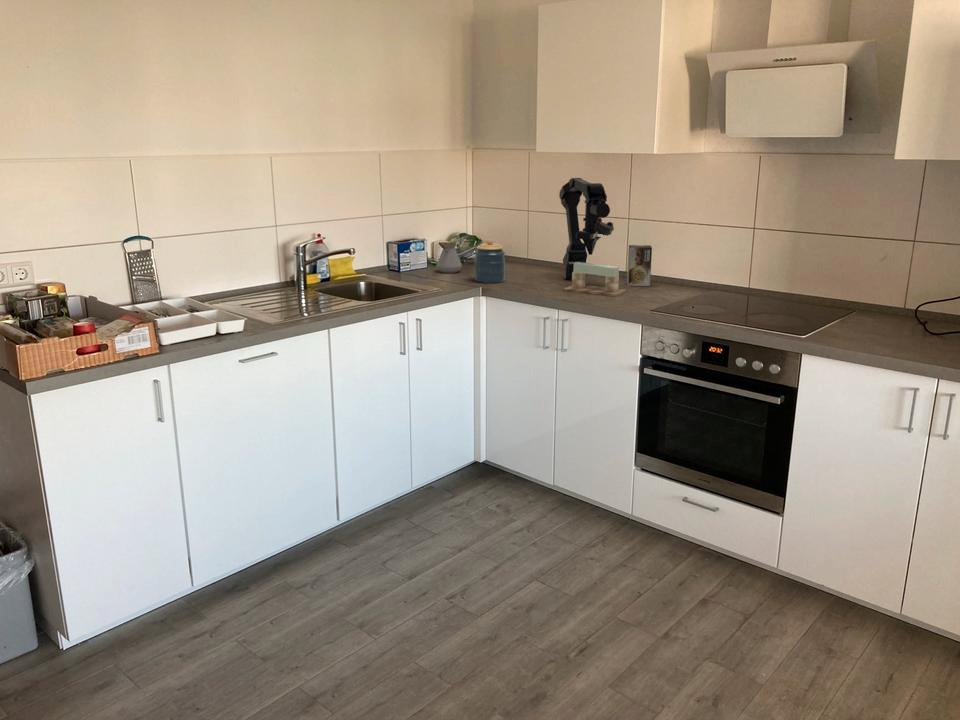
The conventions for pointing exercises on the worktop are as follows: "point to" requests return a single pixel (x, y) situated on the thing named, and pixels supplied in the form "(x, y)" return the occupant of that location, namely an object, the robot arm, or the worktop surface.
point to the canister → (489, 263)
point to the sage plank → (596, 269)
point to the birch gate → (608, 290)
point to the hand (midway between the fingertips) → (590, 254)
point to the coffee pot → (448, 259)
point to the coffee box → (639, 265)
